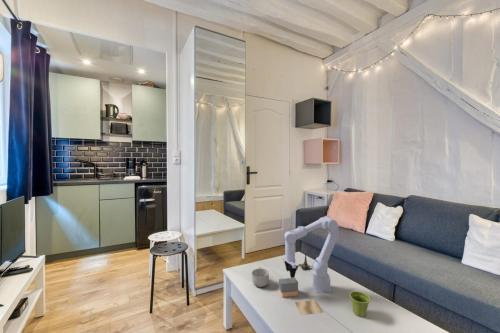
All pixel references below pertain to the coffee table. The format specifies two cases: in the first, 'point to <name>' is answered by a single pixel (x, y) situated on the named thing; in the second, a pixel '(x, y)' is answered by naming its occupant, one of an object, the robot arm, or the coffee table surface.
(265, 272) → the teacup
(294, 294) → the peach slab
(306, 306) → the wooden board
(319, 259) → the robot arm
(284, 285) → the gray rectangular block
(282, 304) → the coffee table surface
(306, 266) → the eiffel tower figurine
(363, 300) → the plant pot
